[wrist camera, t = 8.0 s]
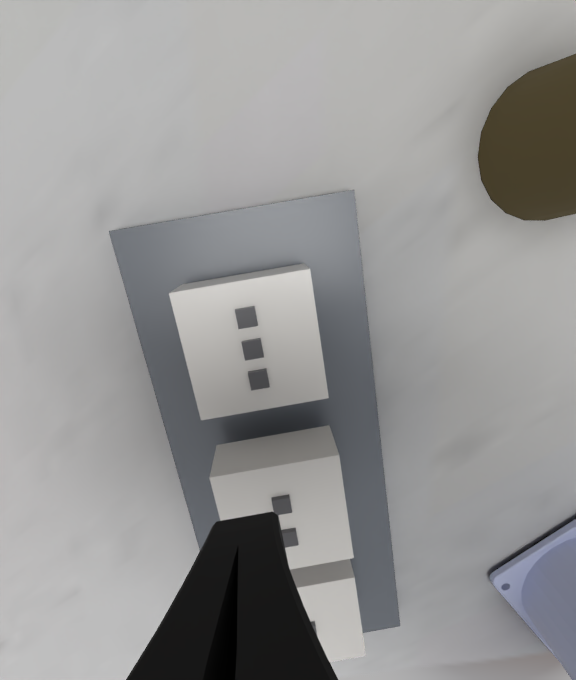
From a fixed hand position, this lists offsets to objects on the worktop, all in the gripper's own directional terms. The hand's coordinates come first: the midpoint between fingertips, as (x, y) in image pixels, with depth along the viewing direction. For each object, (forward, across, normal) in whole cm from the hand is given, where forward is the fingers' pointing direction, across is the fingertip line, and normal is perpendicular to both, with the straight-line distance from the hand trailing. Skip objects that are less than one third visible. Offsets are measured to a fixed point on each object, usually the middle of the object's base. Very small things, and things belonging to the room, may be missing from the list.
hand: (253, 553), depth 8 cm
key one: (+9, 0, +12) cm, 15 cm away
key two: (+8, 0, +4) cm, 9 cm away
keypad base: (+10, 0, +4) cm, 11 cm away
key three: (+9, 0, -3) cm, 9 cm away
